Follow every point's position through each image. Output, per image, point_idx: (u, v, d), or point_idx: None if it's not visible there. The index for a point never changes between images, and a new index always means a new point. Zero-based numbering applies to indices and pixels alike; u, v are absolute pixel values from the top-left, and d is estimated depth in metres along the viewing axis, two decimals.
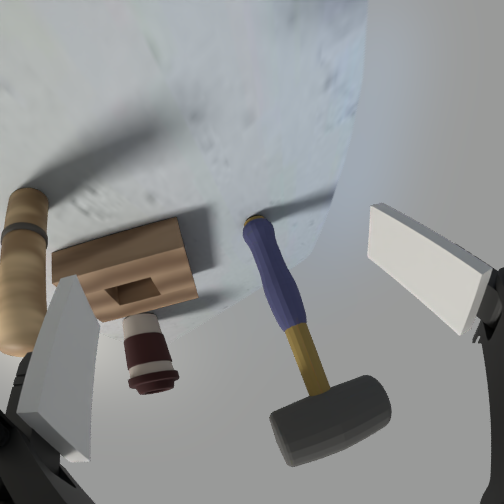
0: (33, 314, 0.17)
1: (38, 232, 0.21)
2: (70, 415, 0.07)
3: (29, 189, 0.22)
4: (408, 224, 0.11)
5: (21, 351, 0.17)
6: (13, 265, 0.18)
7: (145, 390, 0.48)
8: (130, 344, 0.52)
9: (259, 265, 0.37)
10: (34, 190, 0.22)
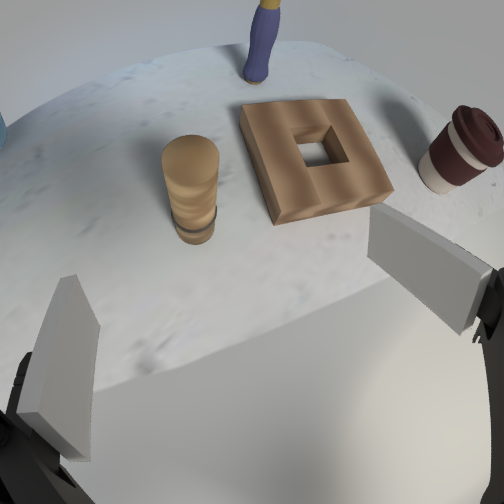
0: None
1: None
2: (70, 415, 0.07)
3: None
4: (408, 224, 0.11)
5: (192, 161, 0.22)
6: None
7: (481, 134, 0.29)
8: (445, 171, 0.37)
9: (260, 55, 0.38)
10: None
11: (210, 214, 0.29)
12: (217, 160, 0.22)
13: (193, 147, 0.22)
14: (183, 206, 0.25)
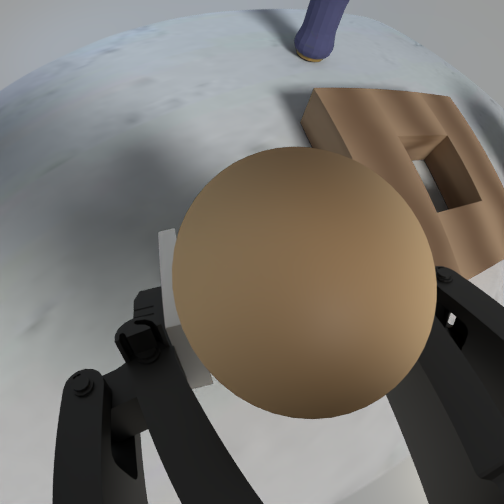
0: None
1: None
2: None
3: None
4: None
5: (340, 296, 0.04)
6: None
7: None
8: None
9: (329, 15, 0.20)
10: None
11: None
12: (432, 282, 0.05)
13: (329, 213, 0.05)
14: None
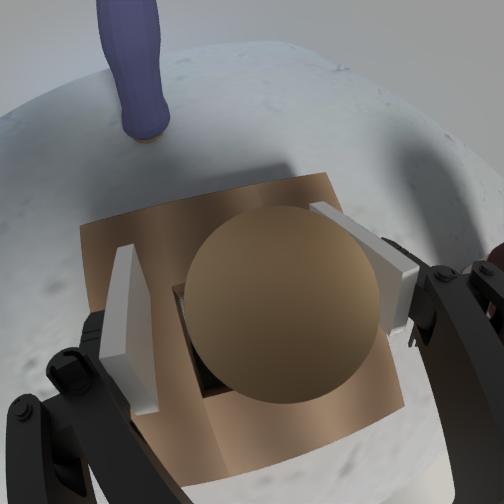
0: None
1: None
2: (143, 364, 0.08)
3: None
4: (340, 221, 0.12)
5: (300, 319, 0.06)
6: None
7: None
8: None
9: (132, 90, 0.17)
10: None
11: None
12: (376, 308, 0.07)
13: (295, 258, 0.07)
14: None
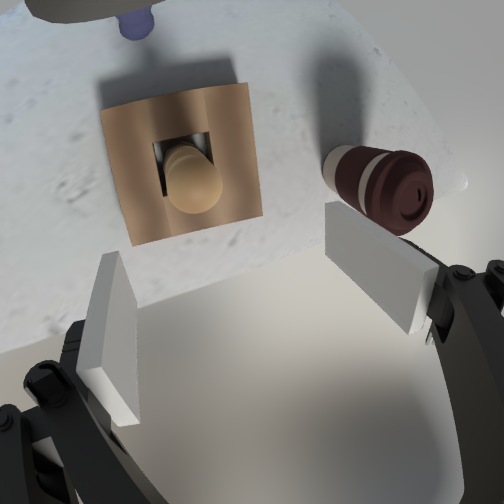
0: (175, 161, 0.24)
1: (174, 148, 0.30)
2: (123, 376, 0.08)
3: (165, 153, 0.34)
4: (357, 221, 0.12)
5: (197, 192, 0.24)
6: (165, 171, 0.28)
7: (391, 216, 0.30)
8: (343, 196, 0.37)
9: (130, 26, 0.21)
10: None
11: None
12: (220, 191, 0.24)
13: (198, 175, 0.23)
14: None
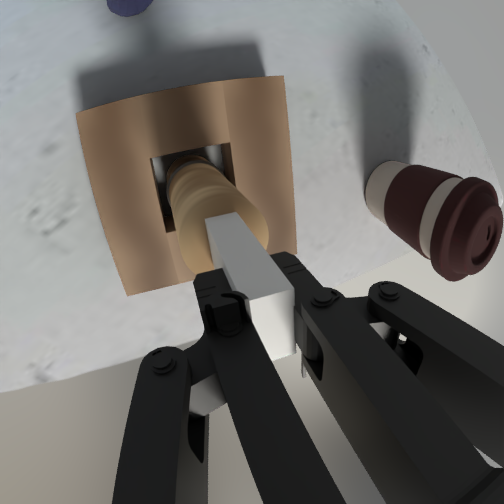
0: (190, 197, 0.16)
1: (182, 166, 0.22)
2: None
3: (168, 170, 0.26)
4: (237, 235, 0.12)
5: None
6: (171, 203, 0.19)
7: (461, 261, 0.21)
8: (393, 228, 0.29)
9: None
10: (171, 165, 0.25)
11: None
12: (265, 246, 0.16)
13: None
14: None
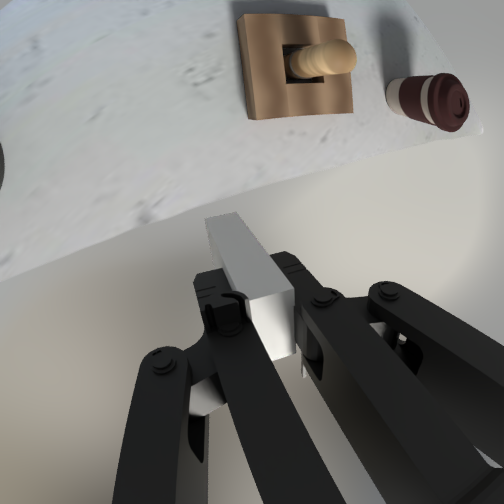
0: (322, 43, 0.30)
1: (298, 49, 0.36)
2: None
3: None
4: (237, 235, 0.12)
5: (342, 59, 0.29)
6: (301, 56, 0.33)
7: (446, 110, 0.35)
8: (406, 108, 0.43)
9: None
10: None
11: None
12: (355, 62, 0.30)
13: (343, 49, 0.28)
14: (317, 73, 0.33)
